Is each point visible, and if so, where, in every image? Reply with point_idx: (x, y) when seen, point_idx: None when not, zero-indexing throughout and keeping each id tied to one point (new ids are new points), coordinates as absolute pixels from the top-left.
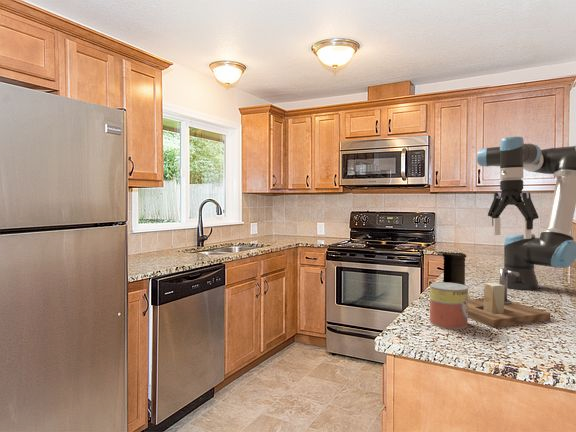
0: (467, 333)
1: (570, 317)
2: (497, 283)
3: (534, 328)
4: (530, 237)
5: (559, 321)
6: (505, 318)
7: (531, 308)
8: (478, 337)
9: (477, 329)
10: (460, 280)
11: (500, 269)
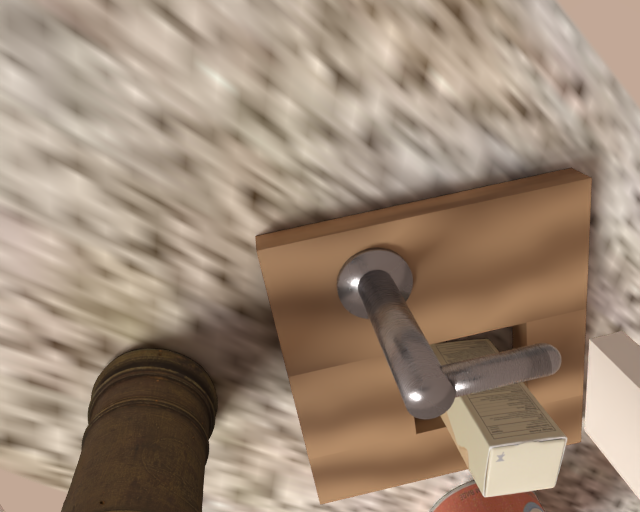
0: (580, 505)
1: (571, 27)
2: (516, 448)
3: (623, 300)
4: (631, 354)
5: (597, 138)
6: (581, 397)
7: (504, 215)
8: (618, 492)
9: (561, 469)
10: (202, 474)
11: (424, 416)
